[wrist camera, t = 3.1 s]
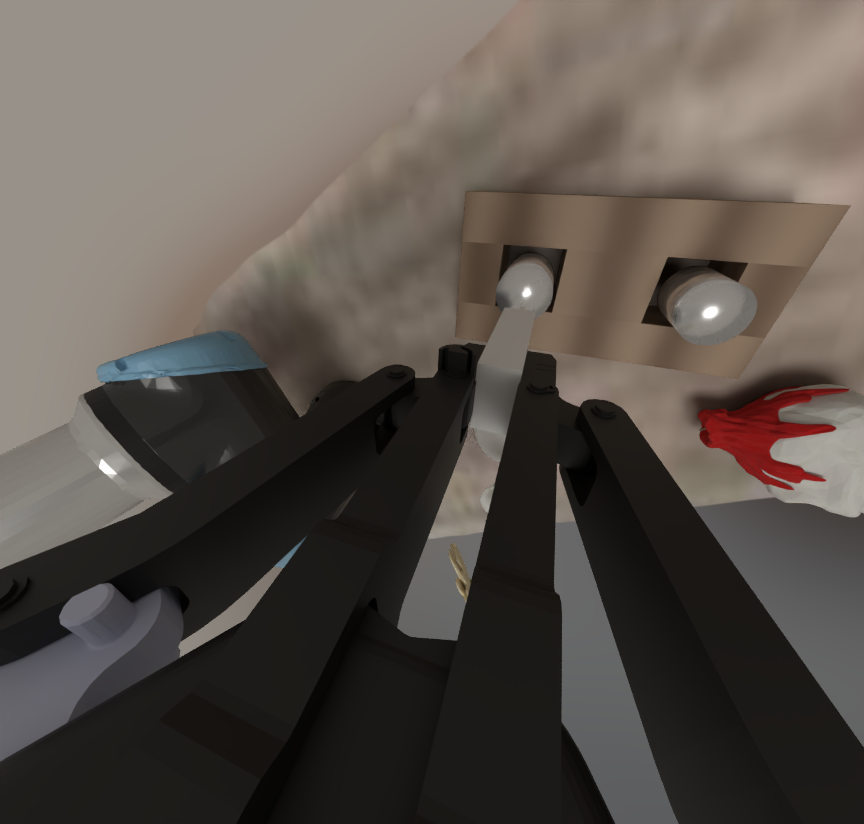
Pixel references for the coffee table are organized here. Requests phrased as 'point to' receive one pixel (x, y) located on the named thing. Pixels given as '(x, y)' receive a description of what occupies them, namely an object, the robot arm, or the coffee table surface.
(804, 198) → the coffee table surface
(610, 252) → the walnut block
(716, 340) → the steel peg
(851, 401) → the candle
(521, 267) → the steel peg
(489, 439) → the flower in vase
